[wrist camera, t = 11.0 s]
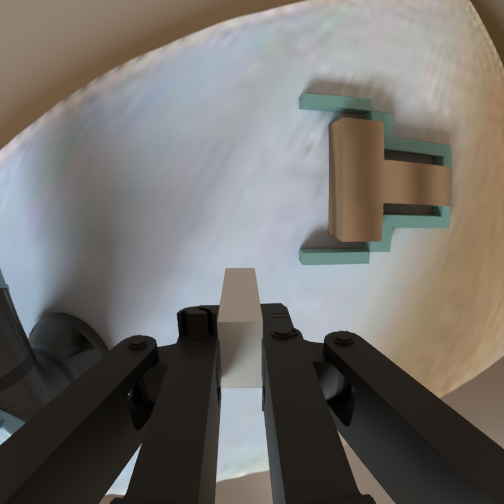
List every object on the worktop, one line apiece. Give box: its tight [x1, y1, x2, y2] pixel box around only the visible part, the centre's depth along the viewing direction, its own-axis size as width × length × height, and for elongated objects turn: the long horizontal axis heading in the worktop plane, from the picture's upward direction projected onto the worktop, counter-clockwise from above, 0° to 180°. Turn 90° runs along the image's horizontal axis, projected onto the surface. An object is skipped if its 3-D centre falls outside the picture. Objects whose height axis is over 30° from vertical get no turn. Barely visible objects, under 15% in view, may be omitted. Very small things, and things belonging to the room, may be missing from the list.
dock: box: [299, 93, 452, 265], centre depth 39 cm, size 22×21×2 cm
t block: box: [328, 117, 451, 242], centre depth 37 cm, size 15×14×6 cm
